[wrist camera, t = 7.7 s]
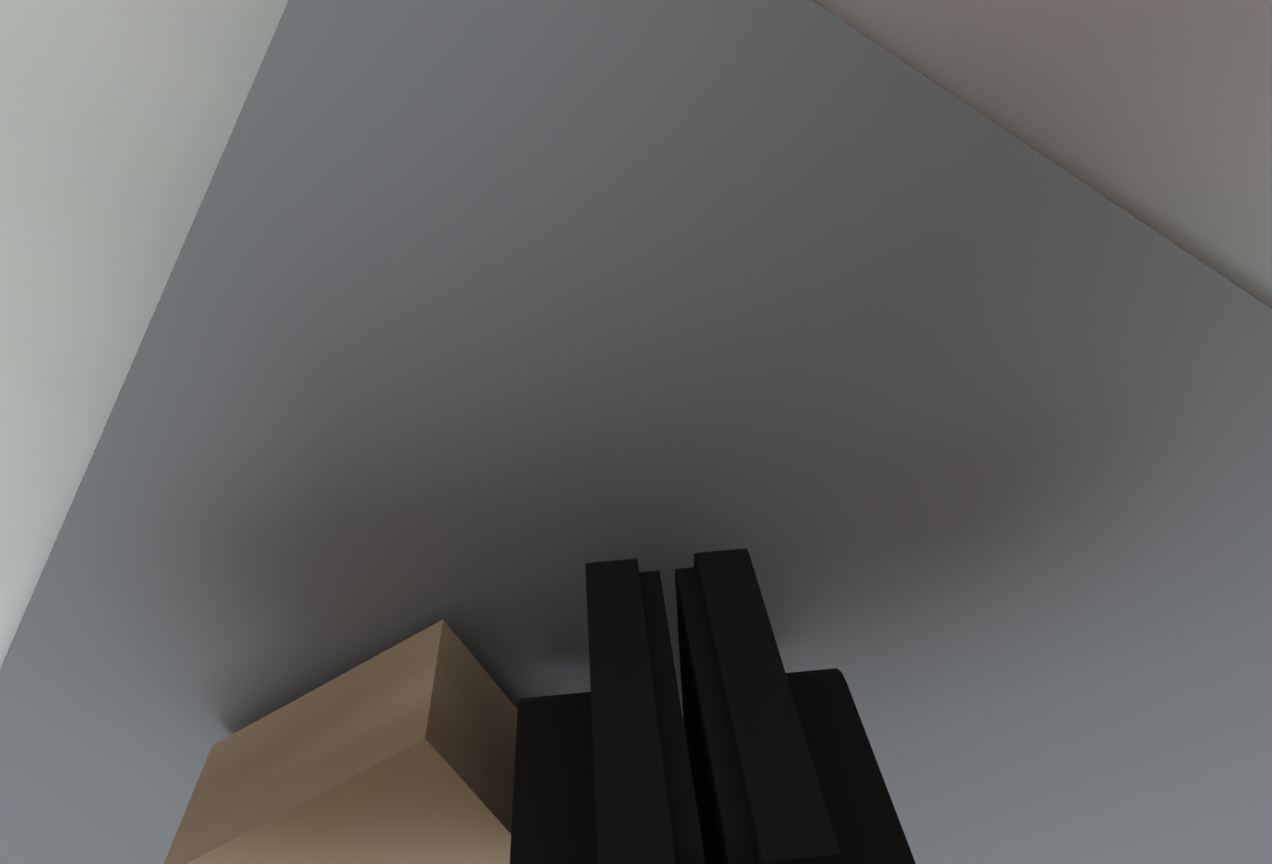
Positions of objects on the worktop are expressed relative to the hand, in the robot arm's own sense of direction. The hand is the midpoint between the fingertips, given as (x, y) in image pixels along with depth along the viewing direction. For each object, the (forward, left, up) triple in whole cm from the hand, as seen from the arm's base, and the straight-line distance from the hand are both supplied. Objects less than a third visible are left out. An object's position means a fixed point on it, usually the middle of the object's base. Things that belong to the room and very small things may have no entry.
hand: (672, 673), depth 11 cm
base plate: (+3, +4, -2) cm, 5 cm away
